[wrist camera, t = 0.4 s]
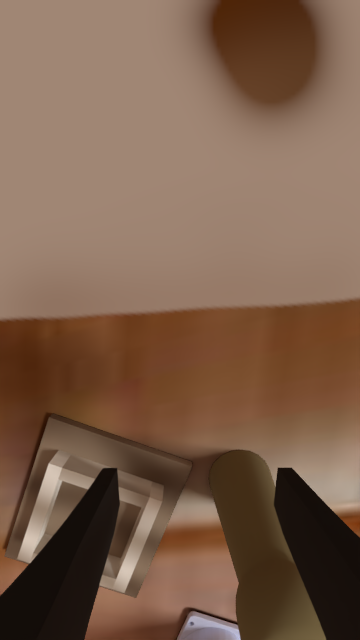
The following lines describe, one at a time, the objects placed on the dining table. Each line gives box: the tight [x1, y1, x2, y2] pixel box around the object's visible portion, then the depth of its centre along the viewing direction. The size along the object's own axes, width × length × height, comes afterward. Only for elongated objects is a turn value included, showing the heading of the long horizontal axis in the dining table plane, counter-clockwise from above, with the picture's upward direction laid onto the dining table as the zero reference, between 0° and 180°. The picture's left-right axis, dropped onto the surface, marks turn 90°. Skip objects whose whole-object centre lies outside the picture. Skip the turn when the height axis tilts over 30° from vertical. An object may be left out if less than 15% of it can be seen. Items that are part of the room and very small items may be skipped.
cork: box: [209, 450, 326, 640], centre depth 16 cm, size 6×6×11 cm
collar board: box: [5, 414, 192, 598], centre depth 21 cm, size 16×14×2 cm
